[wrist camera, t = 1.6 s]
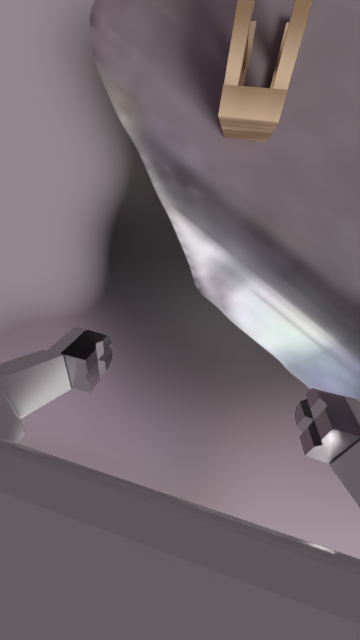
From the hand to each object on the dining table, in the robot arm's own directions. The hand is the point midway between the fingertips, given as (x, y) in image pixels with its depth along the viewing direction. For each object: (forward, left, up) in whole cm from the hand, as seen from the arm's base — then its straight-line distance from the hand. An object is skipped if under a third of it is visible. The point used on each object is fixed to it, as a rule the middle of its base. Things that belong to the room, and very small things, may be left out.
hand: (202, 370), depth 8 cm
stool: (-7, -14, -30) cm, 35 cm away
